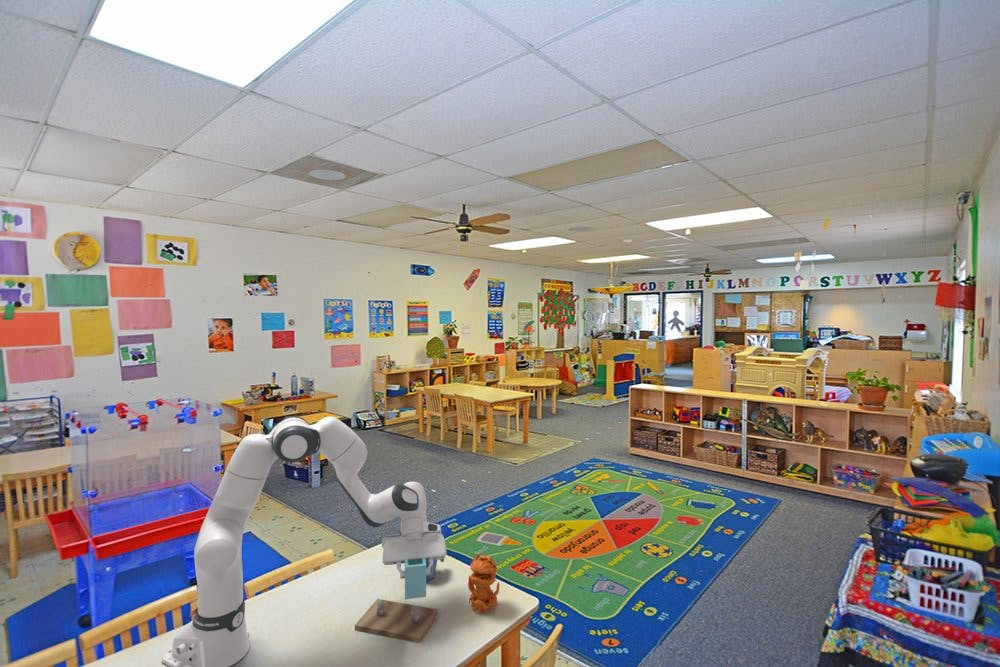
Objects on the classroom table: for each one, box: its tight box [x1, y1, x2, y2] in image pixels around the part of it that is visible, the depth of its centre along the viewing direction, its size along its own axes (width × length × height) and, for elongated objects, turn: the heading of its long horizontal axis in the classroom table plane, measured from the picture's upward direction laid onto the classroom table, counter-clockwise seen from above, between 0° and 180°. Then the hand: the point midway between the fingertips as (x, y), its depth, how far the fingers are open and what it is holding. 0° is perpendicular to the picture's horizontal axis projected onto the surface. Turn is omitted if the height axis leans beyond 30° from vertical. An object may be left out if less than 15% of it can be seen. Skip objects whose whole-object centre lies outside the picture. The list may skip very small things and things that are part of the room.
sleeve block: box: [404, 557, 427, 600], centre depth 145 cm, size 6×6×10 cm
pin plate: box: [354, 598, 439, 644], centre depth 147 cm, size 22×14×6 cm, turn 76°
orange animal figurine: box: [467, 554, 500, 613], centre depth 154 cm, size 11×11×18 cm
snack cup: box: [426, 558, 445, 582], centre depth 172 cm, size 16×11×10 cm
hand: (415, 576), depth 144 cm, fingers closed on sleeve block, 6 cm apart
